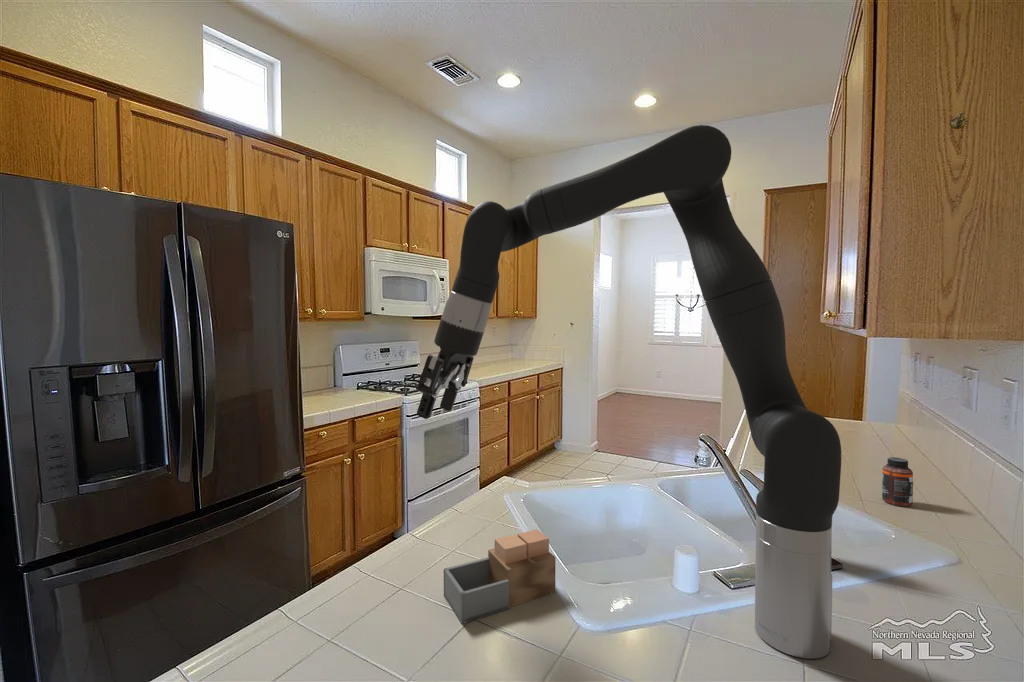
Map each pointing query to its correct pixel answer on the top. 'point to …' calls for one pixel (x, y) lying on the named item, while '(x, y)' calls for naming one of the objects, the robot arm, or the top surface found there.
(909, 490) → the supplement bottle
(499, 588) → the tray
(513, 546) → the tile
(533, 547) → the tile
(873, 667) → the top surface
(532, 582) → the brown block
